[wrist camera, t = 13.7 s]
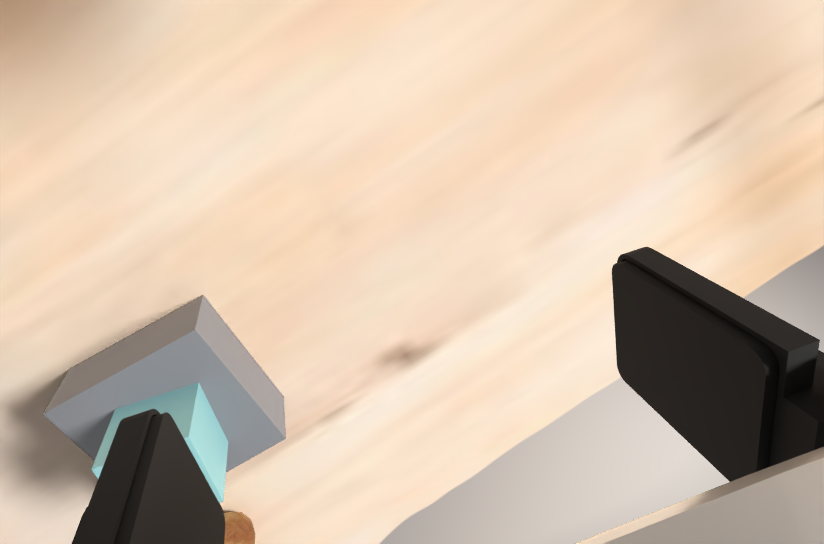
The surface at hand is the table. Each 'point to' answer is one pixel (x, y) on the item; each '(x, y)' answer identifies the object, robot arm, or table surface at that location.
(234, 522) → the bread roll
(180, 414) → the teal cube
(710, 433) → the robot arm
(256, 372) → the gray block
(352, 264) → the table surface
